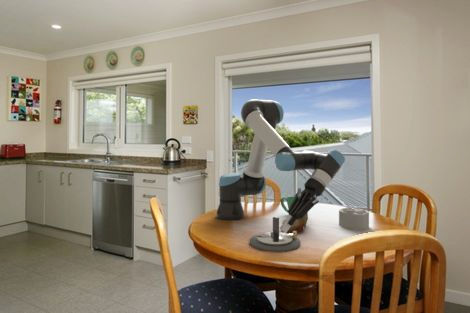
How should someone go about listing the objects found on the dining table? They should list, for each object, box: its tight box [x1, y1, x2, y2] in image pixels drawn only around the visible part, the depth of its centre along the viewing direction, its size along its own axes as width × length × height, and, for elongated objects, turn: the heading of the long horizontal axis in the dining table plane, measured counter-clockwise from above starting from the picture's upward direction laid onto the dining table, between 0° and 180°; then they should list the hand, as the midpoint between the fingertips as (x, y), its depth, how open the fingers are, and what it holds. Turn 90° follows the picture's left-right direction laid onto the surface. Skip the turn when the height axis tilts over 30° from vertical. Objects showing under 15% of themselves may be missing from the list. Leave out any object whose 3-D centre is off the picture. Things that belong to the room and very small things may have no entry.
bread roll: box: [281, 218, 305, 234], centre depth 138 cm, size 10×10×8 cm
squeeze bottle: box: [296, 187, 309, 227], centre depth 147 cm, size 8×8×18 cm
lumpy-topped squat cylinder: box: [338, 206, 370, 231], centre depth 145 cm, size 10×13×9 cm
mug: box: [280, 196, 295, 213], centre depth 167 cm, size 15×10×10 cm
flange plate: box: [256, 216, 293, 246], centre depth 122 cm, size 14×16×10 cm
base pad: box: [249, 231, 301, 253], centre depth 122 cm, size 20×20×4 cm
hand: (282, 230), depth 116 cm, fingers closed
